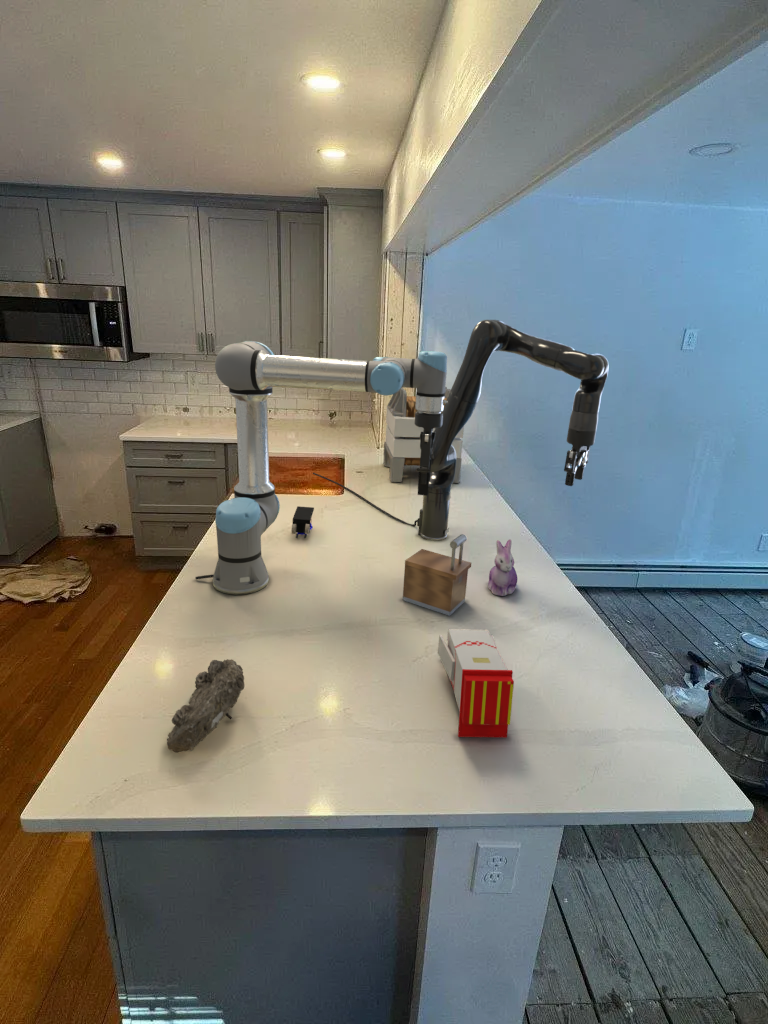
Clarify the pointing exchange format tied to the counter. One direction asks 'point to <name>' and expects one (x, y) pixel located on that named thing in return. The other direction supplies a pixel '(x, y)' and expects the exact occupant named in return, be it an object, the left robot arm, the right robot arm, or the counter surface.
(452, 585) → the chest
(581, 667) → the counter surface
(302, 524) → the figurine character
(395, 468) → the transformer
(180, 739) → the fossil
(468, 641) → the toy
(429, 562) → the lid
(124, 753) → the counter surface
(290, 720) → the counter surface
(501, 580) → the figurine
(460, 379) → the right robot arm
